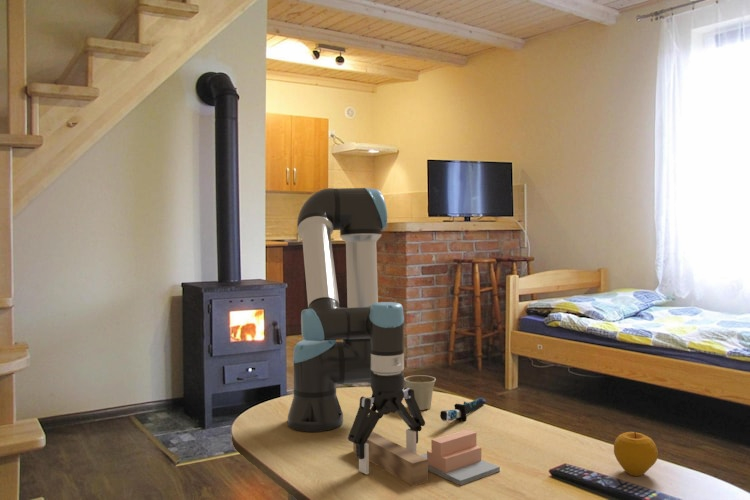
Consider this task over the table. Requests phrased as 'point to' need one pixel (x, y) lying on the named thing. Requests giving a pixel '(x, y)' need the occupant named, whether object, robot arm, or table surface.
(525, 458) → the table surface
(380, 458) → the batten
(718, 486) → the table surface
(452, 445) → the pink stepped block
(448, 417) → the knife
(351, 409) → the table surface
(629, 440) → the apple
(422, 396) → the flower pot
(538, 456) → the table surface
